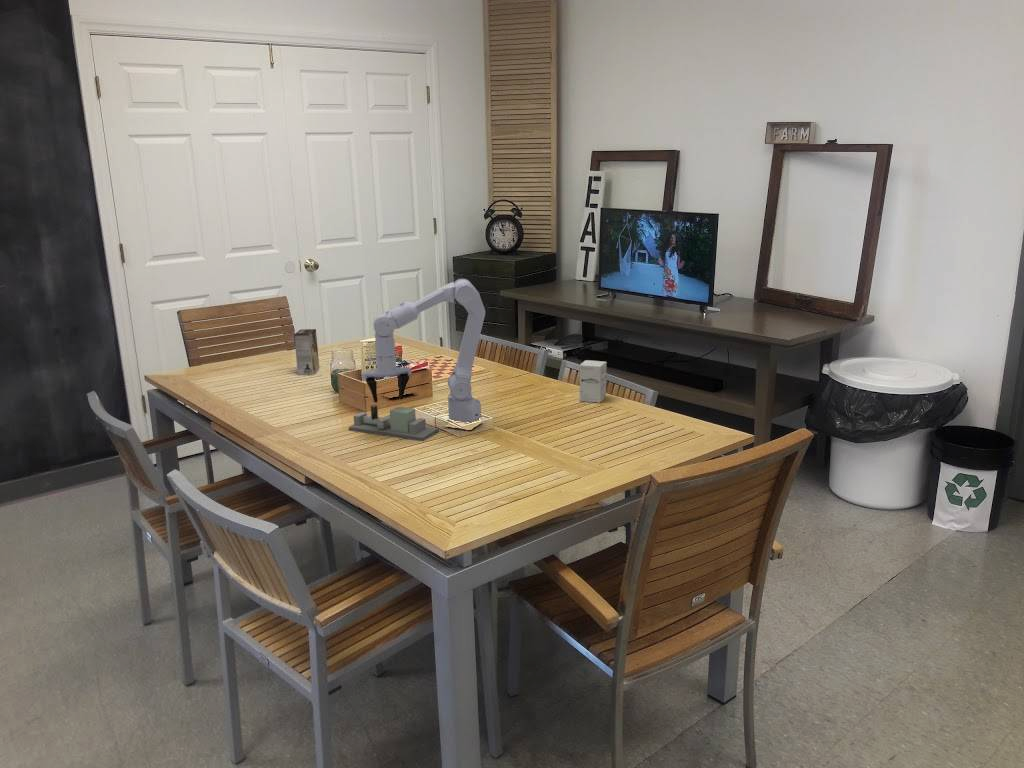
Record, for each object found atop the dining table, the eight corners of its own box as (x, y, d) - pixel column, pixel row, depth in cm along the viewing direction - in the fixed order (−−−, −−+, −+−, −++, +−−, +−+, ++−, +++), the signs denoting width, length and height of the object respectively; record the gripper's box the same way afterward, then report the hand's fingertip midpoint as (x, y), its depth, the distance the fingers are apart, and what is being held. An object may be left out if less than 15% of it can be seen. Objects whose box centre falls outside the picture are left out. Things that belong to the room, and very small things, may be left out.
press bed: (438, 431, 243) (438, 418, 242) (422, 440, 236) (422, 427, 235) (366, 421, 254) (365, 409, 253) (349, 430, 246) (348, 417, 245)
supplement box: (578, 401, 270) (578, 364, 266) (585, 395, 276) (585, 359, 273) (600, 403, 267) (600, 366, 263) (606, 397, 273) (606, 360, 270)
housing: (416, 428, 244) (415, 408, 242) (408, 432, 240) (406, 413, 238) (399, 425, 246) (397, 406, 245) (390, 430, 242) (389, 410, 241)
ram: (394, 423, 248) (393, 405, 246) (383, 429, 243) (382, 410, 241) (369, 419, 252) (368, 402, 250) (358, 425, 246) (357, 407, 245)
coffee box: (303, 369, 319) (299, 329, 315) (320, 369, 319) (316, 328, 315) (297, 375, 310) (293, 334, 306) (314, 375, 310) (310, 333, 306)
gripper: (406, 350, 245) (408, 393, 249) (358, 355, 240) (361, 399, 244) (412, 355, 239) (414, 399, 243) (363, 360, 234) (366, 405, 237)
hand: (388, 400), depth 243 cm, fingers open, 7 cm apart
